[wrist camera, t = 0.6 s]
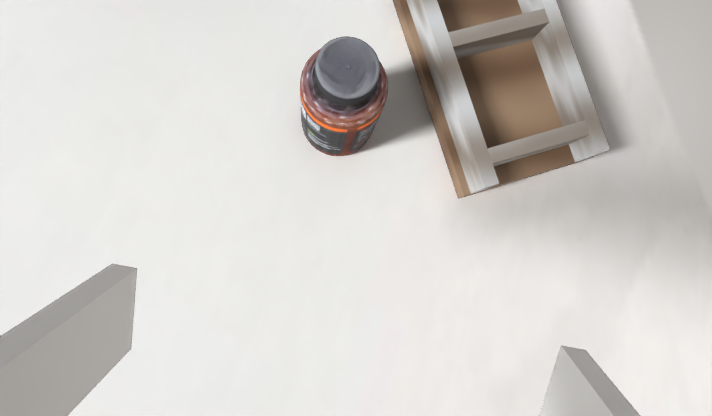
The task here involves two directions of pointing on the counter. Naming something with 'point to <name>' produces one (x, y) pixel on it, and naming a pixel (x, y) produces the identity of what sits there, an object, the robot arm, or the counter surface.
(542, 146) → the wooden divided tray
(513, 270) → the counter surface
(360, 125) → the supplement bottle
